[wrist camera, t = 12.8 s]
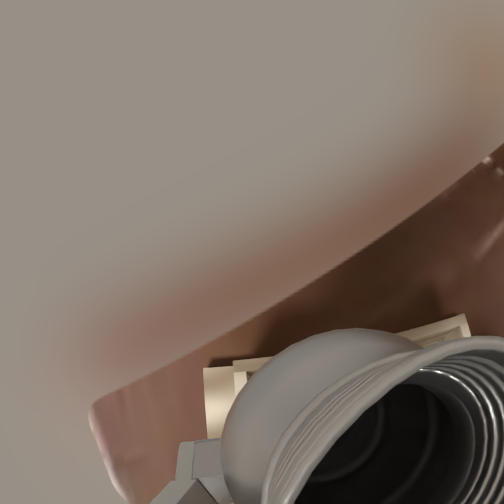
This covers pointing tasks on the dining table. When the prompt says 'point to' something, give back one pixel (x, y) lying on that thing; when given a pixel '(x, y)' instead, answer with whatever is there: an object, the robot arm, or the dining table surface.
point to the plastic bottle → (370, 423)
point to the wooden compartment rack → (235, 377)
